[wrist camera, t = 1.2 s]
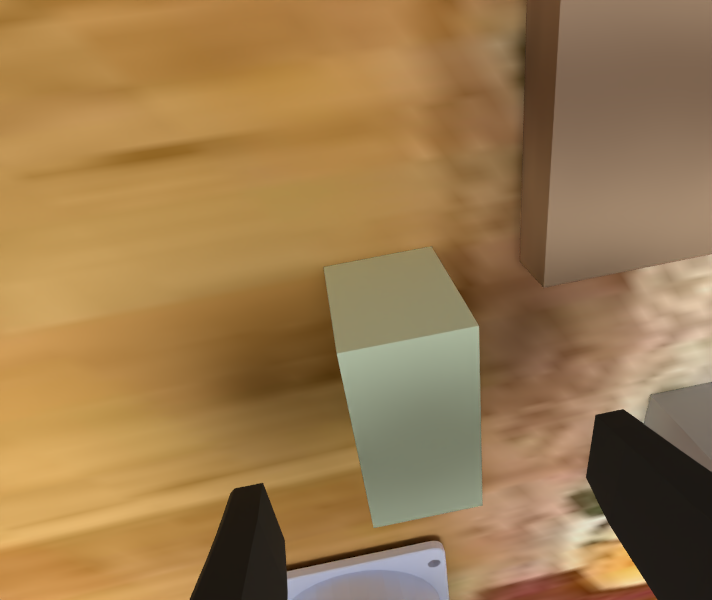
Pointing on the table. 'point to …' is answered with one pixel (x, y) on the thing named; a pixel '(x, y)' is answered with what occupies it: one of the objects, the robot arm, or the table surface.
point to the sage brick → (409, 383)
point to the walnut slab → (615, 136)
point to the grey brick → (684, 420)
